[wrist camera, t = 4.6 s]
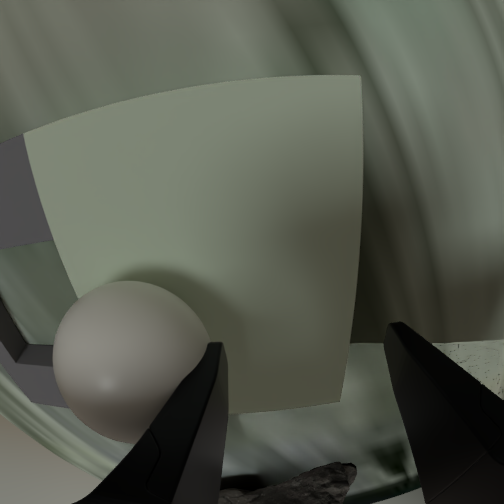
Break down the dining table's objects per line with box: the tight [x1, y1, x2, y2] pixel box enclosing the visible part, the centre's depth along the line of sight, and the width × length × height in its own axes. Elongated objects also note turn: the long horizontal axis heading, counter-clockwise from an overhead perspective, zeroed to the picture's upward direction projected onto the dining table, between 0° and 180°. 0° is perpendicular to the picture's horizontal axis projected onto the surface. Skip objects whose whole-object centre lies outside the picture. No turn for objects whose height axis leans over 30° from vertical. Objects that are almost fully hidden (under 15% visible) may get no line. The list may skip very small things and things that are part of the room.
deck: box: [0, 75, 363, 414], centre depth 12 cm, size 18×14×2 cm
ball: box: [53, 281, 211, 444], centre depth 9 cm, size 5×5×5 cm
